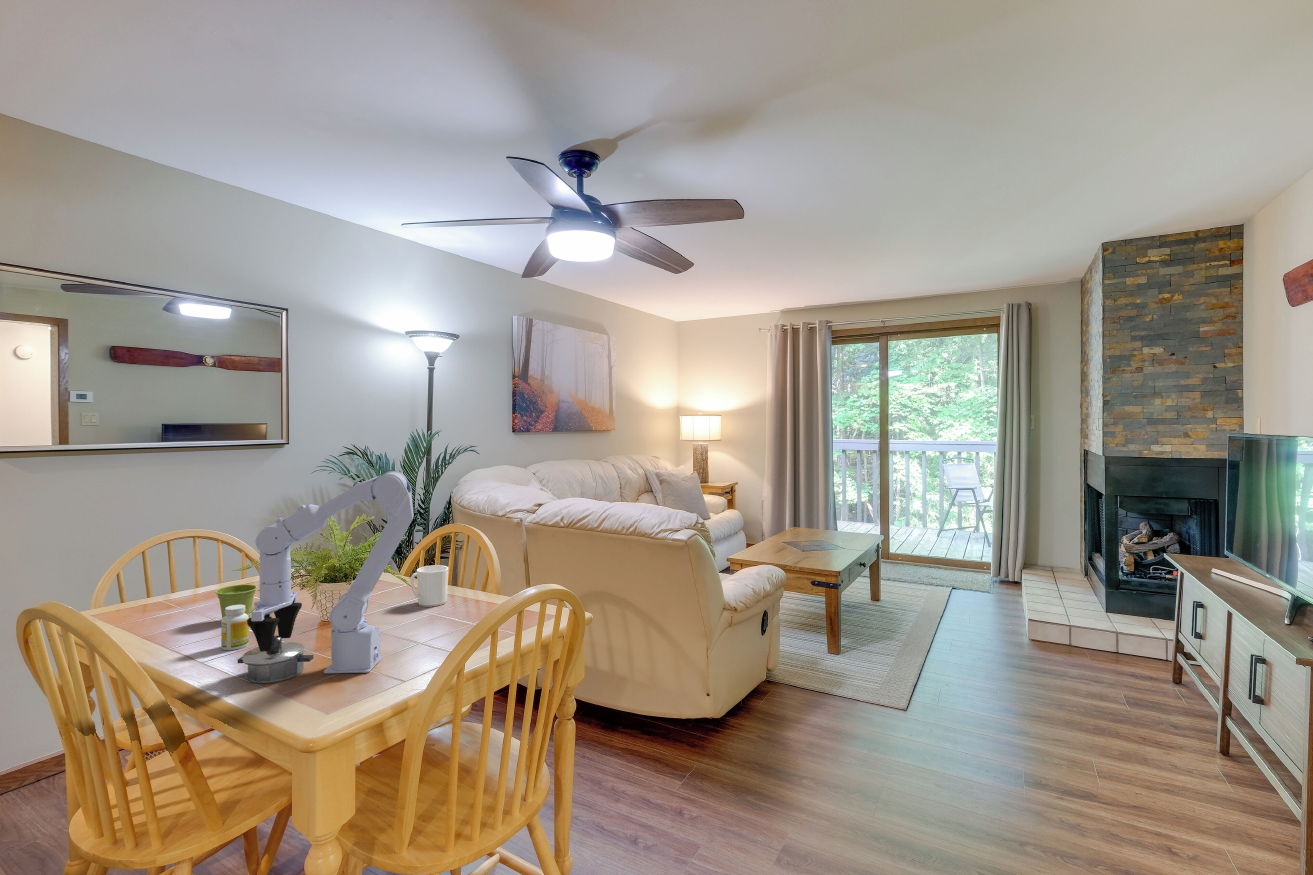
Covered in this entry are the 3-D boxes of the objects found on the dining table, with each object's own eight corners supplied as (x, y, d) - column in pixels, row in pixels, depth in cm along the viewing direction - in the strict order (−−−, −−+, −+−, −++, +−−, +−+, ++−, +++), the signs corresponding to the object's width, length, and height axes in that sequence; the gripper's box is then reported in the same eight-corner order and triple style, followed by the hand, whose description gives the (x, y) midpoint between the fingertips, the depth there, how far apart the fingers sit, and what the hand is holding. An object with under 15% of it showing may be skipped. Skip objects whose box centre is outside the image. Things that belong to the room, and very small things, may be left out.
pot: (322, 663, 137) (322, 645, 137) (300, 682, 127) (300, 663, 127) (253, 665, 136) (253, 647, 135) (225, 684, 126) (225, 665, 126)
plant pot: (262, 613, 172) (261, 583, 171) (251, 624, 163) (251, 591, 162) (222, 616, 169) (222, 585, 168) (209, 627, 160) (209, 594, 160)
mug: (441, 597, 190) (441, 563, 189) (453, 603, 183) (453, 569, 183) (404, 603, 182) (404, 569, 182) (416, 610, 176) (416, 575, 175)
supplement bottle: (216, 651, 144) (216, 610, 144) (229, 642, 149) (229, 603, 149) (240, 650, 144) (240, 610, 144) (253, 642, 150) (253, 603, 149)
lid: (314, 650, 137) (314, 629, 137) (284, 670, 125) (284, 647, 125) (264, 649, 137) (264, 628, 137) (229, 670, 126) (229, 646, 125)
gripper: (274, 572, 138) (274, 632, 138) (235, 590, 123) (235, 657, 123) (306, 572, 138) (307, 632, 139) (272, 589, 124) (272, 656, 124)
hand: (275, 644), depth 131 cm, fingers open, 7 cm apart
